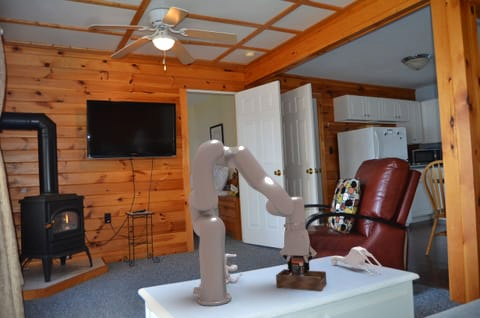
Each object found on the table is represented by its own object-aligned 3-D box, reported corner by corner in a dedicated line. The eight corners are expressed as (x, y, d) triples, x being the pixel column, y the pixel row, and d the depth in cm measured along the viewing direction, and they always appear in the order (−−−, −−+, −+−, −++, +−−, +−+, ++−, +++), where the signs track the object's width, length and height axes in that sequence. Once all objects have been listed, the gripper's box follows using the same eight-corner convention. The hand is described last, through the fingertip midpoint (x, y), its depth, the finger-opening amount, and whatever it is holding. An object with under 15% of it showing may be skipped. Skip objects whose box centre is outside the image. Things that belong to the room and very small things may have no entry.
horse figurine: (374, 292, 163) (334, 262, 184) (383, 260, 159) (341, 232, 179) (366, 295, 161) (327, 264, 181) (375, 262, 156) (334, 234, 176)
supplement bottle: (306, 282, 146) (304, 253, 147) (291, 282, 147) (289, 253, 148) (306, 278, 152) (305, 250, 153) (292, 278, 153) (290, 250, 154)
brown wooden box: (276, 287, 149) (275, 275, 149) (284, 281, 158) (283, 269, 158) (321, 291, 141) (320, 277, 141) (326, 283, 150) (325, 271, 150)
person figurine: (212, 266, 146) (235, 249, 162) (189, 270, 153) (212, 254, 168) (223, 297, 146) (245, 277, 162) (199, 300, 153) (222, 281, 168)
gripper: (273, 228, 151) (275, 272, 150) (314, 228, 144) (317, 275, 143) (279, 225, 158) (281, 268, 157) (319, 225, 151) (322, 270, 150)
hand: (298, 271), depth 150 cm, fingers closed on supplement bottle, 6 cm apart
